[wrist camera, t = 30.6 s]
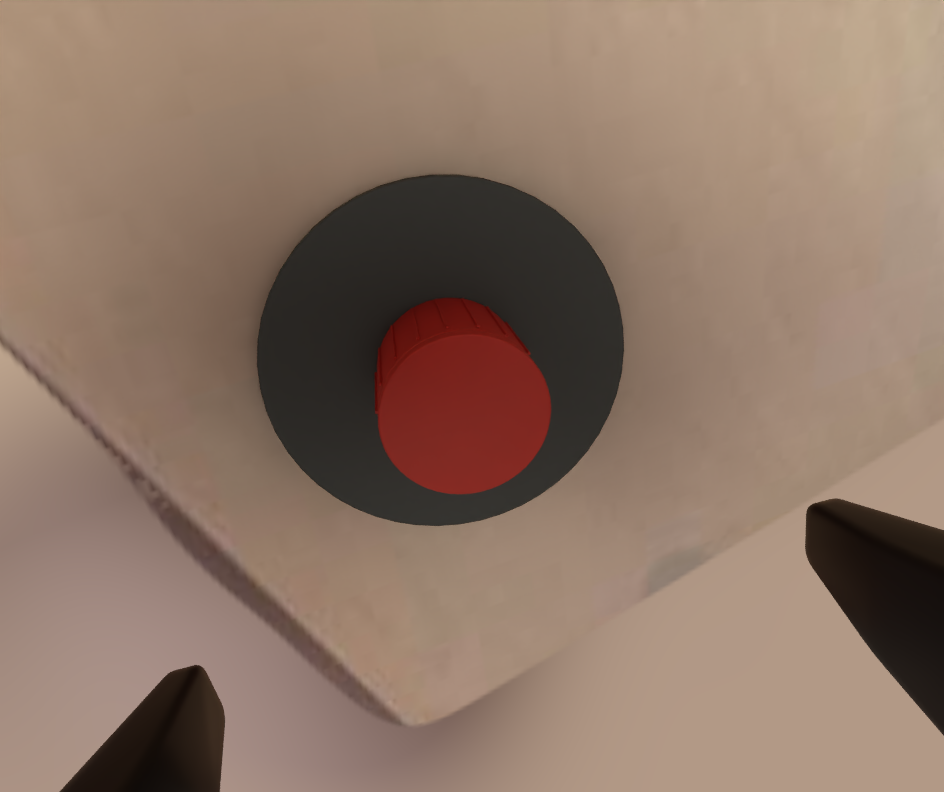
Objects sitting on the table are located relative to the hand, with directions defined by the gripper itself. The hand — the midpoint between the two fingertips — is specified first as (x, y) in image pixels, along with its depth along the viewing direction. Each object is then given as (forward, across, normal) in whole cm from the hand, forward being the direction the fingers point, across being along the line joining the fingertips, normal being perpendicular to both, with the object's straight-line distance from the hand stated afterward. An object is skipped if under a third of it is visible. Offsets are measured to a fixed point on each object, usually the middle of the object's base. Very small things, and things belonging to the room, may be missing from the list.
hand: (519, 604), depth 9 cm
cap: (+11, 0, 0) cm, 11 cm away
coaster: (+11, 0, 0) cm, 11 cm away
